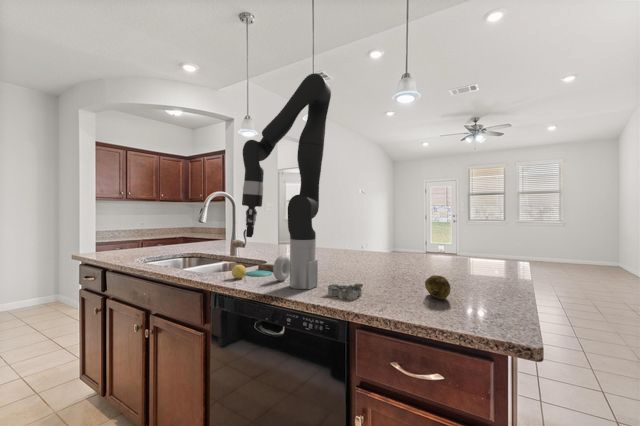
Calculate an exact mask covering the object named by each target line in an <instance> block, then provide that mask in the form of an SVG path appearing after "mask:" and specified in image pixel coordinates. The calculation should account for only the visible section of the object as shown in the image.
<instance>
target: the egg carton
mask: <svg viewBox="0 0 640 426" xmlns="http://www.w3.org/2000/svg"><path fill="white" fill-rule="evenodd" d="M363 286H364V284H363V283H354V285H353V284H349V285H345V284H343V285H339V284H338V283H337V284H336V283H332V284H328V285H327V287H328V288H327V295H328V294H329V295H328V296H329V297H338V298H339V297H343V298H346V297H348V298H349V299H348V298H347V299H348V300H353V299H352V298H357V299H358V297H357V296H361V297H362V295H363V293H362V289H361V288H362V287H363ZM334 295H335V296H334Z"/></svg>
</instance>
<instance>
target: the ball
mask: <svg viewBox="0 0 640 426" xmlns="http://www.w3.org/2000/svg"><path fill="white" fill-rule="evenodd" d="M246 269H247V268H246V267H245V266H244V265H243V264H236V265H234V266H233V267H232V269H231V275H232V277H233V278H234V279H237V280H239V279H240V280H241V279H243V278H244V277H245V276H246V275H245V274H246V272H247V270H246Z"/></svg>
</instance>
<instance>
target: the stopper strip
mask: <svg viewBox="0 0 640 426" xmlns="http://www.w3.org/2000/svg"><path fill="white" fill-rule="evenodd" d="M273 266H274V264H271V263H269V264H268V263H263V262H262V263H258V265H257V269H258V270H259V271H270V272H273Z"/></svg>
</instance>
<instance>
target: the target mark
mask: <svg viewBox="0 0 640 426" xmlns="http://www.w3.org/2000/svg"><path fill="white" fill-rule="evenodd" d="M271 275H273V271H268V270H250V271H246V274H245V276H247V277H268V276H271Z"/></svg>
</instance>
